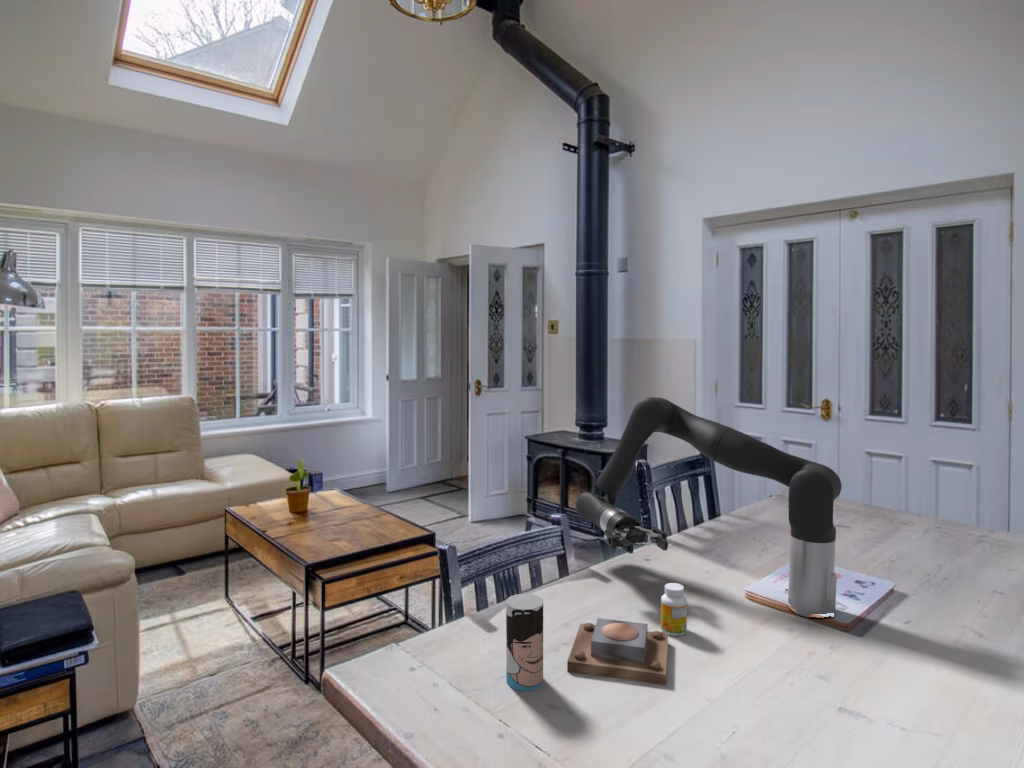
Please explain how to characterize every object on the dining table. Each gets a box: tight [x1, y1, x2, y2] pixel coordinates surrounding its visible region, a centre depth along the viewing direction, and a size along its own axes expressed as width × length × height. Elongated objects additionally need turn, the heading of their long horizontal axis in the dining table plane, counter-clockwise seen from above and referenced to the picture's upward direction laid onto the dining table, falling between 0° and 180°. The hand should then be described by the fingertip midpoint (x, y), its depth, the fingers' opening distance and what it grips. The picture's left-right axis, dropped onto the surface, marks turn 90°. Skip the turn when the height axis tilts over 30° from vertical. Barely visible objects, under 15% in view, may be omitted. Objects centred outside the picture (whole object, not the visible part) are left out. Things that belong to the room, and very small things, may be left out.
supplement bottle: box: [660, 582, 688, 637], centre depth 135 cm, size 5×5×10 cm
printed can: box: [505, 593, 544, 692], centre depth 116 cm, size 7×7×15 cm
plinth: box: [566, 617, 669, 686], centre depth 125 cm, size 18×16×5 cm
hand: (649, 547), depth 145 cm, fingers open, 8 cm apart
